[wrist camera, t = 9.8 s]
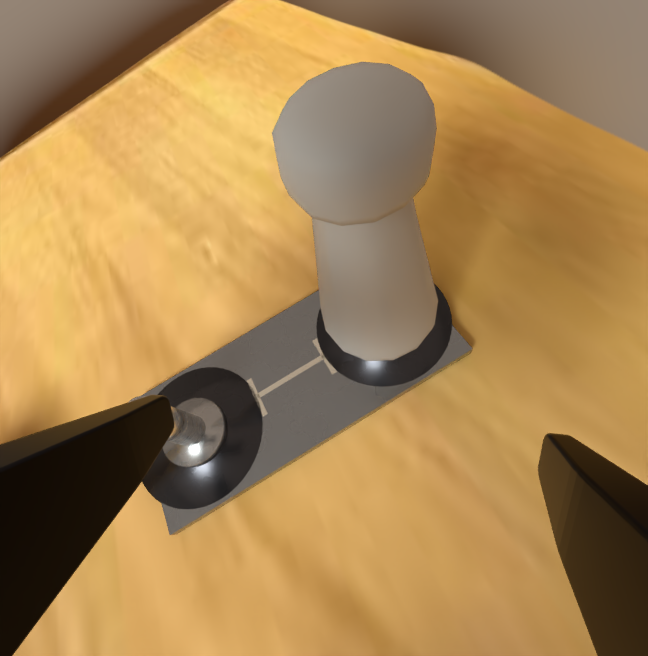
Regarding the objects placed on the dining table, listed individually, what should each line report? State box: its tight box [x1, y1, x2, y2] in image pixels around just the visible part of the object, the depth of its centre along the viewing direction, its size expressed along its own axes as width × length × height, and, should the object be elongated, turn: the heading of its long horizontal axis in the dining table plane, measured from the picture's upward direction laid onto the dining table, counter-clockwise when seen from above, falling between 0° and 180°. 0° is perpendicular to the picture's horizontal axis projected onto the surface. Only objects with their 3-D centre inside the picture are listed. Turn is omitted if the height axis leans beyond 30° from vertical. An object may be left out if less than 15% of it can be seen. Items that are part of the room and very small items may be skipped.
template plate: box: [142, 284, 472, 535], centre depth 20 cm, size 20×8×1 cm, turn 119°
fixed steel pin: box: [129, 396, 228, 467], centre depth 17 cm, size 4×4×5 cm
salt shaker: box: [272, 62, 438, 361], centre depth 14 cm, size 6×6×13 cm
